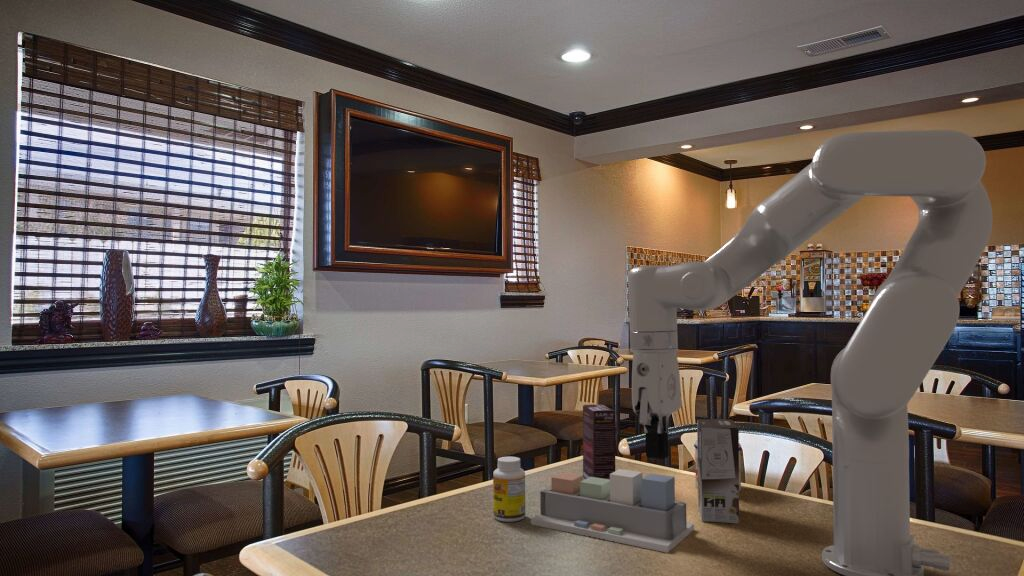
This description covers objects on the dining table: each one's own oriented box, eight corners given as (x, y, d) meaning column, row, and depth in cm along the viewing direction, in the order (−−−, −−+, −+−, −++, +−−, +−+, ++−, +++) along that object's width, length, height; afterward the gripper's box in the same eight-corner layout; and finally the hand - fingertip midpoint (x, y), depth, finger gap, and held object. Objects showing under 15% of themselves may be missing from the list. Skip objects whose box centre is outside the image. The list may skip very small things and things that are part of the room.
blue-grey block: (674, 508, 109) (674, 476, 109) (665, 514, 106) (665, 482, 106) (651, 504, 111) (650, 473, 111) (641, 510, 108) (641, 478, 108)
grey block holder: (694, 529, 111) (693, 499, 111) (667, 552, 101) (667, 519, 101) (565, 506, 124) (565, 478, 125) (530, 524, 114) (530, 494, 114)
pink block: (583, 504, 118) (582, 475, 118) (572, 510, 115) (572, 480, 115) (562, 500, 120) (562, 472, 120) (551, 506, 117) (551, 477, 117)
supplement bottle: (489, 514, 120) (489, 456, 120) (519, 511, 121) (519, 454, 122) (498, 524, 114) (498, 463, 115) (529, 521, 116) (529, 461, 116)
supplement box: (617, 490, 134) (616, 410, 135) (593, 491, 134) (592, 411, 134) (604, 479, 143) (603, 403, 143) (582, 480, 142) (581, 404, 143)
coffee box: (740, 524, 114) (739, 427, 114) (701, 522, 115) (700, 426, 116) (734, 508, 123) (733, 418, 123) (697, 506, 124) (696, 417, 124)
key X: (642, 502, 112) (642, 472, 112) (632, 508, 109) (632, 477, 109) (620, 498, 114) (619, 468, 114) (610, 504, 111) (609, 474, 111)
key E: (612, 509, 115) (611, 479, 115) (601, 515, 112) (601, 485, 112) (590, 505, 117) (590, 476, 117) (580, 511, 114) (579, 481, 114)
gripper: (658, 345, 101) (662, 470, 100) (691, 340, 113) (695, 450, 113) (612, 345, 105) (616, 464, 104) (649, 339, 117) (652, 446, 117)
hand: (657, 457), depth 109 cm, fingers closed
